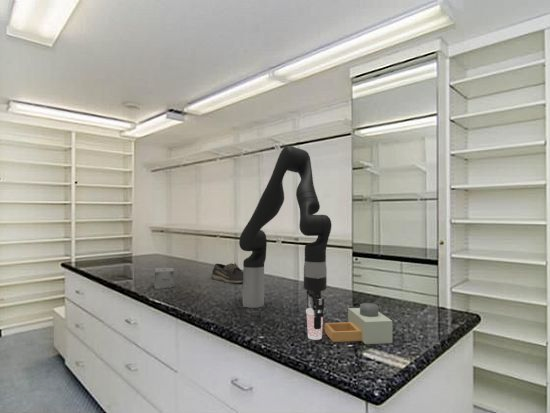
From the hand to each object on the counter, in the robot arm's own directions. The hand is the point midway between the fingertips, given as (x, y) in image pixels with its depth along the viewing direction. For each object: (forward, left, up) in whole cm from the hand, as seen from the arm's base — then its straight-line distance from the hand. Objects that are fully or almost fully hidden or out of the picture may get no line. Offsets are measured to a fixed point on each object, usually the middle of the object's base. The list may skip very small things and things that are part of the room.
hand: (314, 325), depth 119 cm
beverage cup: (0, 0, -4) cm, 4 cm away
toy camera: (+14, 0, -4) cm, 15 cm away
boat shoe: (-26, +98, -4) cm, 102 cm away
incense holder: (-62, +84, -4) cm, 105 cm away
